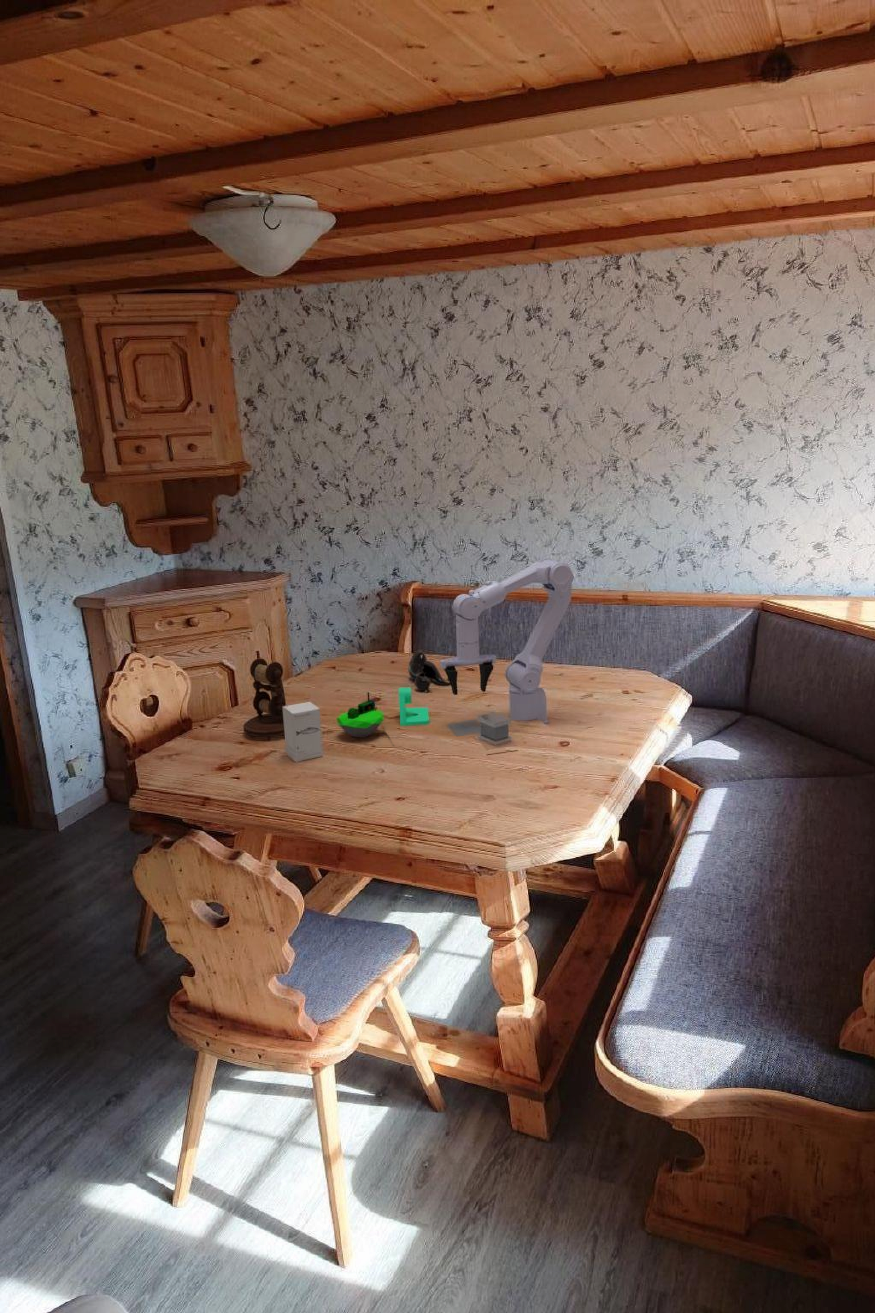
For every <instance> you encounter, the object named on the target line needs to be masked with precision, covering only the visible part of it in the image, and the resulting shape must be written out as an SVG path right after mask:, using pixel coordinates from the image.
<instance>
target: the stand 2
mask: <svg viewBox="0 0 875 1313" xmlns="http://www.w3.org/2000/svg"><path fill="white" fill-rule="evenodd" d="M474 738H475V739H476V741H478V742H479V744H481V745H482V747H483V748H484V749H485V750H487V751H488V750H493V749H502V748H509V747H515V746H518V744H517V743H516V742H515V741H514V740H513V739H512V738H511V742H509V743H506V744H502V745H499V746H496V747H495V746H493V745H491V744H488V743H486V742H484V741H481V740H479V739H478V735H475V736H474ZM518 751H519V750H518V749H515V750H510V751H509V750H508V751H500V752H494V753H487V754H486V756H490V755H492V756H493V755H498V754H505V753H513V752H518Z"/></svg>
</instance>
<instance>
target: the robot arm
mask: <svg viewBox="0 0 875 1313" xmlns="http://www.w3.org/2000/svg"><path fill="white" fill-rule="evenodd" d="M574 579H575V576H574V573H573V570H572V569H571V567H570V565H569V564H567V563H565V562H561V561H556V560H554V559H552V558H542V559H541V560H538V561H536V562H533V563H532V564H530V565H529V566H528V567H526V568H524V569H521V571H519V572H517V573H515V574H513V575H512V576H510V577H507V578H506V579H504V580H503V581H501V582H499V581H497V580H496V581H495V580H493V581H490V580H487V581H485V582H484V585H482V586H480V587H478V588H476V589H474V590H473V589H470V590H469V591H468V594H467V593H462V594H461V593H460V594H459V595H457V596H456V597H455V599H454V600H453V603H452V604H451V609H452V612H453V613H454V614H455V632H456V633H455V635H456V637H455V638H456V656H454V657H450V658H445V659H440V660H439V664H440V666H439V668H441V669H442V670H444V672H445V674H446V676H447V677H448V678H447V680H448V679H449V680H448V681H449V682H450V684H451V685H450V688H451V691H452V694H453V696H458V674H459V673H458V670H456V667H457V668H458V667H466V666H475V665H478V668H479V675H480V676H479V677H480V680H479V682H480V684H479V685H480V687H479V688H480V691H481V692H483V693H484V692H486V690H487V685H488V682H489V678H490V676H491V673H492V672H493V670H494V664H497V656H496V655H495V654H493V653H492V654H480V638H479V636H480V634H479V632H480V631H479V617H480V616H481V614H482V612H484V611H486V610H489V609H490V608H492V607H494V606H496V605H498V604H499V603H502V602H504V600H505V599H506V596H507V595H508V594H511V593H512V592H515V591H517V590H519V589H521V588H523V587H526V586H529V585H531V584H533V583H535V584H542V585H543V587H544V588H545V591H546V594H547V596H548V599H547V601H546V603H545V606H544V608H543V610H542V612H541V614H540V616H539V617H538V620H537V623H535V626H534V628H533V630H532V631H531V634H530V636H529V639H528V640H527V642H526V645H525V647H524V649H523V651H521V652H520V653H518V654H516V656H515V658H514V659H513V661H512V662H510V663H509V665H507V667H506V669H505V670H504V671H505V672H504V676H505V679H506V681H507V682H508V683H509V687H508V690H509V694H508V696H509V718H510V719H511V720H513V721H518V722H528V721H533V720H537V719H538V720H539V721H541V723H543V724H548V723H549V721H548V720H547V717H548V716H547V714H548V713H547V710H548V709H547V707H548V706H547V694H546V692H545V690H544V688H543V687H539V686H540V684H541V677H542V676H541V675H542V673H543V670H544V667H543V662H542V661H543V658H544V656H545V655H546V652H547V650H548V648H549V646H550V644H551V641H552V640H553V638H554V637H555V636H554V635H555V634H556V632H557V630H558V627H559V626H560V623H561V621H562V620H563V618H564V615H565V613H566V611H567V609H568V607H569V605H570V603H571V600H572V591H573V590H572V588H573V587H572V586H573V582H574Z"/></svg>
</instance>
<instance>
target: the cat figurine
mask: <svg viewBox="0 0 875 1313" xmlns="http://www.w3.org/2000/svg"><path fill="white" fill-rule="evenodd" d="M407 672H408V675H409V677H410V679H411V681H413V682H414V683H413V684H414V686H415V687H416V689H418V690H420V691H422V692H424V694H429V689H430V685H431V684H432V682H435V683H437V684H440V685H443V686H451V684H450V681H449V679H448V676H447V680H448V681H449V682H448V681H446V680H444V679H443V677H442V675H441V673H440V671H439V670H438V667H437V666H436V665H435V663H434V662H432V661H430V660H427V656H426V654H425V653H424V652H423V651H422V650H420V649H418V650H415V651H414V652H413V654H412V655H411V658H410V660H409V661H408V668H407ZM431 680H432V681H431Z"/></svg>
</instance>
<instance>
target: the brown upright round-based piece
mask: <svg viewBox="0 0 875 1313" xmlns="http://www.w3.org/2000/svg"><path fill="white" fill-rule="evenodd" d="M249 672H250V676H251V677H252V678H253V680H254V681H253V683H252V687H253V688H254V690H255V695H254V696H253V699H252V706H253V709H254V710H255V711H256V714H257V715H256V716H253V717H251V718H249V719H248V721H246V722H245V723H244V724H243V727H242V728H243V732H244V733H245V734H247V735H250V736H254V737H255V736H256V737H266V738H265V739H266V740H267V741H268V742H270V740H271V737H272V736H273V737H274V736H280V735H285V731H284V720H283V708H282V707H283V706H287V703H286V694H285V690H284V689H285V688H284V684H283V680H282V677H283V674H284V668H283V665H282V664H281V663H280V662H278V661H272V662H271V663H269V664H268V662H267V661H266V660H265V658H261V657H259V658H256V659H254V660H253V661H252V663H251V664H250V667H249ZM260 690H265V691H260ZM268 692H270V694H269V693H268ZM264 713H265V714H264Z"/></svg>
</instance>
